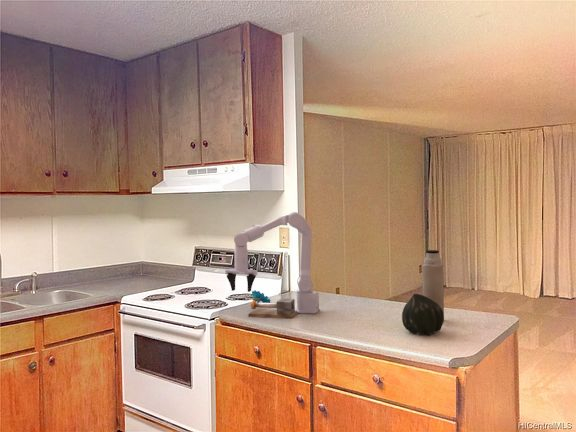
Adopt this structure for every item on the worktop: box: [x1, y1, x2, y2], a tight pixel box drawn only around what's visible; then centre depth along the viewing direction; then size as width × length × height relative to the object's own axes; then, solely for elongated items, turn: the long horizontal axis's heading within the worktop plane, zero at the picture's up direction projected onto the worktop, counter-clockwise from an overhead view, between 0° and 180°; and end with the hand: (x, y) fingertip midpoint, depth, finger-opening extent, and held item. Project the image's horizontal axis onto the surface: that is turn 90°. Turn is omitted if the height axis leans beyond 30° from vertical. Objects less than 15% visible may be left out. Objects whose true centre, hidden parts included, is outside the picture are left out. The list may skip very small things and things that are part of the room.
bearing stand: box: [247, 297, 299, 319], centre depth 204 cm, size 20×9×6 cm, turn 74°
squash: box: [401, 293, 445, 336], centre depth 172 cm, size 14×15×15 cm
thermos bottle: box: [421, 249, 445, 315], centre depth 188 cm, size 8×8×28 cm
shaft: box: [250, 300, 277, 310], centre depth 204 cm, size 13×4×4 cm, turn 74°
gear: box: [251, 290, 271, 303], centre depth 223 cm, size 11×6×10 cm
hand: (241, 290), depth 208 cm, fingers open, 7 cm apart
